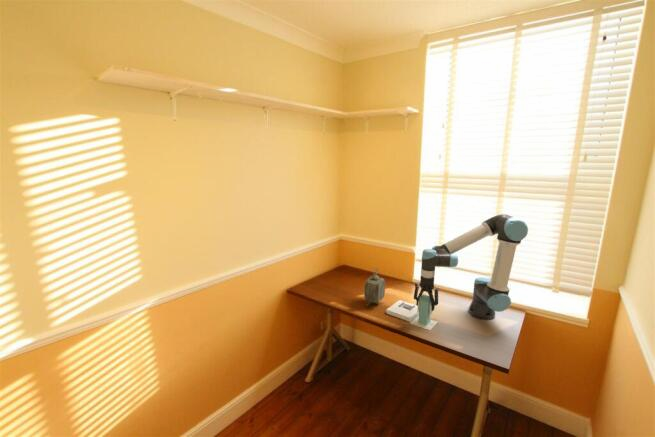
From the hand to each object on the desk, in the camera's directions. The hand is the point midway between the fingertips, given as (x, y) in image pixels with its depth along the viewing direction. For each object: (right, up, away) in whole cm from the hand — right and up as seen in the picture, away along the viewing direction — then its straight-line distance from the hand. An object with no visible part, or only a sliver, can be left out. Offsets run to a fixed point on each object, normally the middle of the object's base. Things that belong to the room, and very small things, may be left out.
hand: (424, 313), depth 185 cm
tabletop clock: (-26, -2, +25) cm, 36 cm away
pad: (0, -6, +1) cm, 6 cm away
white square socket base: (-8, -4, +14) cm, 17 cm away
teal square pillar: (0, -6, +1) cm, 6 cm away
